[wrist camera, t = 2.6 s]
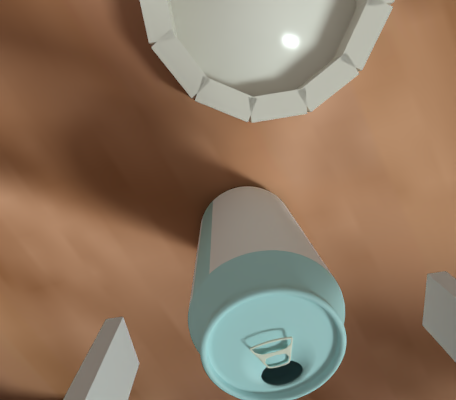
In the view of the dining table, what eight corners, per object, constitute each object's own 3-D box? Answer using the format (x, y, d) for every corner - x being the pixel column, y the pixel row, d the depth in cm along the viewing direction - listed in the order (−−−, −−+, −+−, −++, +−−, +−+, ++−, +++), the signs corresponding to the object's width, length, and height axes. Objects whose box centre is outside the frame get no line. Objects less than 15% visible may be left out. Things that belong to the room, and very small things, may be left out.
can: (307, 215, 22) (402, 332, 11) (254, 279, 24) (287, 437, 13) (235, 165, 21) (256, 239, 9) (183, 237, 22) (149, 373, 11)
